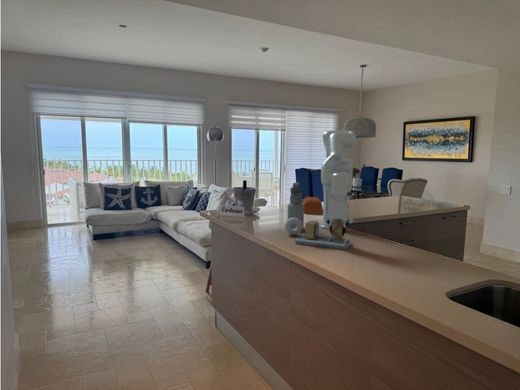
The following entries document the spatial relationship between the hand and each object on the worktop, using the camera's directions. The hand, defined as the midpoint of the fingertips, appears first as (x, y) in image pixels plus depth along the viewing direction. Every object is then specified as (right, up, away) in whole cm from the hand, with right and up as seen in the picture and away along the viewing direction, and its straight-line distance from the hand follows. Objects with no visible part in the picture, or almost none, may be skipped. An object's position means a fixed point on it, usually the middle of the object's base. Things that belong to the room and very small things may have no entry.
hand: (337, 233), depth 176 cm
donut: (-20, -3, +22) cm, 30 cm away
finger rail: (-6, -6, +4) cm, 9 cm away
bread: (+2, +6, +100) cm, 100 cm away
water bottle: (-17, -1, +37) cm, 41 cm away
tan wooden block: (0, -2, 0) cm, 2 cm away
